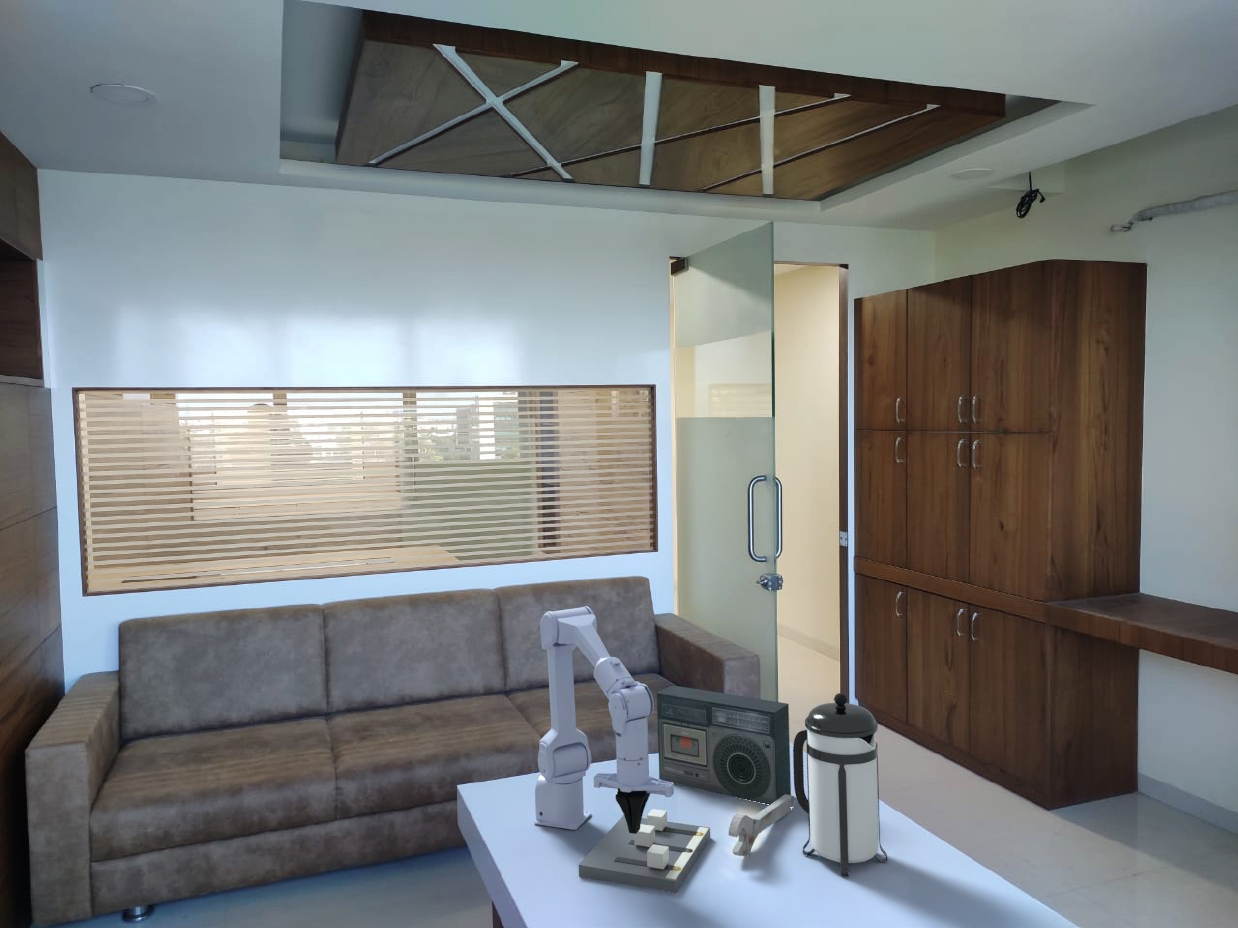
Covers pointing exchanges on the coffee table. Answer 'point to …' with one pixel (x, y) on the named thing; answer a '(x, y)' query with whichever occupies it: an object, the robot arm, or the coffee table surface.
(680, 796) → the coffee table surface
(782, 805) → the wrench
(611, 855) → the switch board
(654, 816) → the switch tab
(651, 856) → the switch tab
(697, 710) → the cassette player
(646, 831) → the white cube
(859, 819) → the coffee press
